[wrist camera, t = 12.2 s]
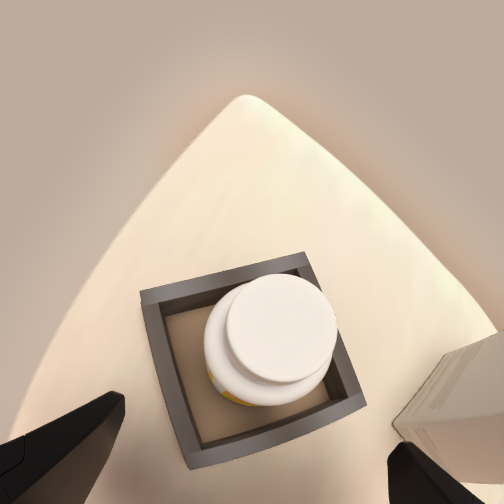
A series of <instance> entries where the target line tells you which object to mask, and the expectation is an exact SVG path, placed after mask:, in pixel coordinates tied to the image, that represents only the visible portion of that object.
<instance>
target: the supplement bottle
mask: <svg viewBox="0 0 504 504" xmlns="http://www.w3.org/2000/svg"><path fill="white" fill-rule="evenodd" d="M336 339H337V321H336V317H335V313H334V310H333V308H332V306H331V304H330V302H329V301H328V299H327V298H326V296H325V295H324V294H323V293H322V292H321V291H320V290H319V289H318V288H317V287H316V286H314V285H313V284H312V283H310V282H308V281H307V280H305V279H302V278H300V277H297V276H294V275H289V274H270V275H266V276H262V277H259V278H257V279H255V280H253V281H251V282H249V283H246V284H243V285H241V286H238V287H236V288H235V289H233V290H231V291H230V292H228V293H227V294H226V295H225V296H224V297H223V298H222V299H221V300H220V301H219V302H218V303H217V304H216V305H215V307H214V308H213V310H212V312H211V314H210V316H209V318H208V320H207V323H206V327H205V332H204V355H205V363H206V369H207V373H208V377H209V379H210V382H211V383H212V385H213V387H214V388H215V389H216V391H217V392H218V393H219V394H220V395H222V396H223V397H224V398H226V399H227V400H229V401H231V402H233V403H236V404H240V405H244V406H277V405H283V404H287V403H290V402H293V401H296V400H298V399H300V398H302V397H303V396H305V395H306V394H308V393H309V392H311V391H312V390H313V389H314V388H315V387H316V386H317V385H318V384H319V383H320V381H321V380H322V379H323V377H324V376H325V374H326V372H327V370H328V368H329V365H330V362H331V358H332V353H333V350H334V347H335V344H336Z"/></svg>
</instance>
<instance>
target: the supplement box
mask: <svg viewBox="0 0 504 504" xmlns="http://www.w3.org/2000/svg"><path fill="white" fill-rule="evenodd" d="M393 425H394V427H395V428H396V429H397V431H398V432H399V433H400V434H401V436H402V437H403V438H404V439H405V441H411V442H413V443H414V444H415V445H416V446H417V447H418V448H420V449H421V450H422V451H423V452H424V453H425V454H426V455H428V456H429V457H430V458H431V459H432V460H433V461H434V462H436V463H437V464H438V465H439V466H440V467H441V468H443V469H444V470H445V471H446V472H447V473H448V474H450V475H451V476H452V477H453V478H454V479H456V480H457V481H458V482H466V483H480V484H504V330H503V331H500V332H498V333H496V334H494V335H492V336H489V337H487V338H485V339H483V340H480V341H478V342H475V343H473V344H471V345H468V346H466V347H463V348H461V349H458V350H455V351H453V352H450V353H447V354H445V356H444V357H443V359H442V360H441V362H440V363H439V364H438V366H437V367H436V369H435V370H434V372H433V373H432V374H431V376H430V377H429V378H428V380H427V381H426V382H425V384H424V385H423V386H422V388H421V389H420V390H419V392H418V393H417V394H416V395H415V397H414V398H413V399H412V400H411V402H410V403H409V404H408V405H407V407H406V408H405V409H404V410H403V411H402V412H401V414H400V415H399V416H398V417H397V418H396V419H395V421H394V422H393Z"/></svg>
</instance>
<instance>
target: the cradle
mask: <svg viewBox="0 0 504 504" xmlns="http://www.w3.org/2000/svg"><path fill="white" fill-rule="evenodd" d="M270 274H289V275H294V276H297V277H300V278H302V279H305V280H307V281H308V282H310V283H312V284H313V285H314V286H316V287H317V288H318V289H319V290H320V291H321V292H322V290H321V288H320V286H319V283H318V281H317V279H316V276H315V274H314V272H313V270H312V267H311V265H310V263H309V260H308V258H307V256H306V254H305V252H300V253H296V254H292V255H288V256H284V257H280V258H276V259H272V260H267V261H263V262H259V263H255V264H251V265H247V266H243V267H239V268H235V269H230V270H226V271H222V272H218V273H214V274H210V275H205V276H201V277H197V278H193V279H189V280H184V281H180V282H176V283H172V284H167V285H163V286H159V287H155V288H150V289H146V290H142V291H139V292H140V297H141V307H142V312H143V317H144V322H145V326H146V331H147V335H148V340H149V344H150V348H151V352H152V356H153V360H154V364H155V368H156V372H157V376H158V379H159V383H160V386H161V390H162V393H163V397H164V400H165V403H166V407H167V410H168V413H169V416H170V419H171V422H172V425H173V428H174V431H175V434H176V437H177V440H178V443H179V446H180V448H181V451H182V454H183V456H184V459H185V462H186V464H187V467H188V468H189V469H190V470H193V469H198V468H202V467H207V466H211V465H215V464H219V463H223V462H226V461H230V460H233V459H237V458H240V457H244V456H247V455H250V454H253V453H256V452H259V451H262V450H265V449H268V448H271V447H274V446H277V445H280V444H282V443H285V442H288V441H290V440H293V439H295V438H298V437H300V436H303V435H305V434H308V433H310V432H312V431H315V430H317V429H319V428H322V427H324V426H326V425H328V424H330V423H333V422H335V421H337V420H339V419H341V418H343V417H345V416H347V415H349V414H351V413H353V412H355V411H357V410H359V409H361V408H363V407H365V406H366V405H367V403H366V401H365V398H364V395H363V392H362V390H361V387H360V384H359V382H358V379H357V376H356V374H355V371H354V369H353V366H352V364H351V361H350V358H349V356H348V353H347V351H346V348H345V346H344V343H343V341H342V338H341V336H340V333H339V331H338V328H337V339H336V344H335V347H334V350H333V353H332V358H331V362H330V365H329V368H328V370H327V372H326V374H325V376H324V377H323V379H322V380H321V381H320V383H319V384H318V385H317V386H316V387H315V388H314V389H313V390H312V391H311V392H309V393H308V394H306V395H305V396H303V397H302V398H300V399H298V400H296V401H293V402H290V403H287V404H283V405H277V406H244V405H240V404H236V403H233V402H231V401H229V400H227V399H226V398H224V397H223V396H222V395H220V394H219V393H218V392H217V391H216V389H215V388H214V387H213V385H212V383H211V382H210V379H209V377H208V373H207V369H206V363H205V355H204V332H205V327H206V323H207V320H208V318H209V316H210V314H211V312H212V310H213V308H214V307H215V305H216V304H217V303H218V302H219V301H220V300H221V299H222V298H223V297H224V296H225V295H226V294H227V293H228V292H230V291H231V290H233V289H235V288H236V287H238V286H241V285H243V284H246V283H249V282H251V281H253V280H255V279H257V278H259V277H262V276H266V275H270Z"/></svg>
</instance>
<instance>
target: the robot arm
mask: <svg viewBox="0 0 504 504" xmlns="http://www.w3.org/2000/svg"><path fill="white" fill-rule="evenodd" d="M124 416H125V397H124V395H123V394H121V393H118V392H115V391H109V392H107V393H106V394H104V395H102V396H100V397H98V398H96V399H94V400H92V401H91V402H89V403H87V404H85V405H83V406H81V407H79V408H77V409H75V410H73V411H71V412H69V413H68V414H66V415H64V416H62V417H60V418H58V419H56V420H54V421H52V422H50V423H48V424H46V425H44V426H42V427H39V428H37V429H35V430H33V431H31V432H29V433H27V434H25V436H24V435H23V436H20V437H18V438H16V439H14V440H11V441H9V442H7V443H4V444H2V445H0V504H84V503H85V501H86V499H87V497H88V495H89V493H90V491H91V489H92V487H93V486H94V484H95V482H96V480H97V478H98V476H99V474H100V473H101V471H102V469H103V467H104V465H105V463H106V461H107V460H108V458H109V456H110V453H111V451H112V448H113V445H114V443H115V440H116V437H117V435H118V432H119V430H120V427H121V425H122V422H123V419H124ZM387 466H388V491H389V502H390V504H485V503H484V502H482V501H481V500H480V499H478V498H477V497H476V496H475V495H474V494H472V493H471V492H470V491H469V490H468V489H466V488H465V487H464V486H463V485H462V484H460V483H459V482H458V481H457V480H456V479H454V478H453V477H452V476H451V475H450V474H448V473H447V472H446V471H445V470H444V469H443V468H441V467H440V466H439V465H438V464H437V463H436V462H434V461H433V460H432V459H431V458H430V457H429V456H428V455H426V454H425V453H424V452H423V451H422V450H421V449H420V448H418V447H417V446H416V445H415V444H414V443H413V442H411V441H404V442H400V443H399V444H398V445H397V446H396V448H395V449H394V450H393V451H392V452H391V454H390V455H389V456H388V460H387Z"/></svg>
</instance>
